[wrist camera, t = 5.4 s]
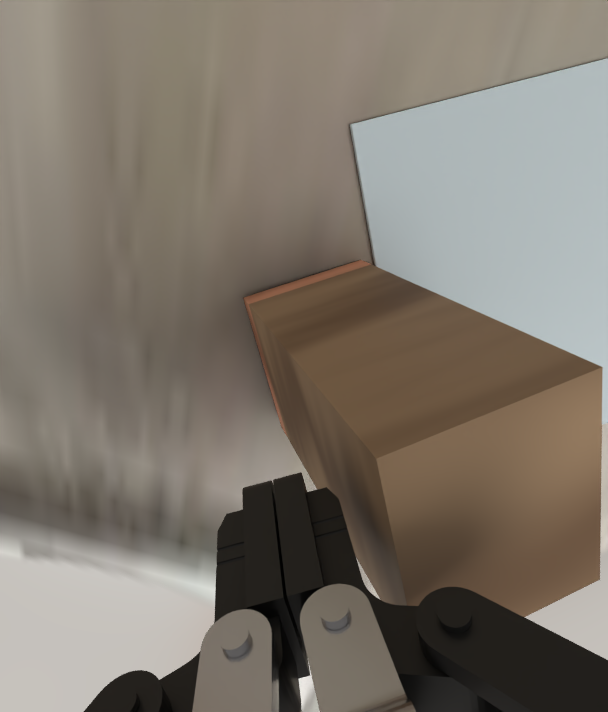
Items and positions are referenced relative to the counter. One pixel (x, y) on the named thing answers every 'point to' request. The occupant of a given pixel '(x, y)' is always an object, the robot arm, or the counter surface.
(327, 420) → the walnut block
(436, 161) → the mat
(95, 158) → the counter surface
